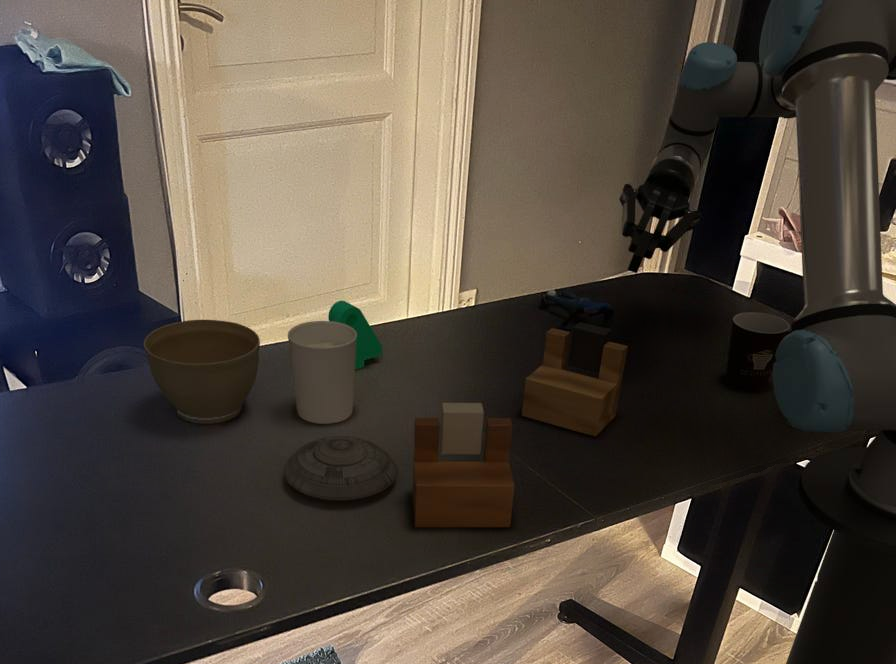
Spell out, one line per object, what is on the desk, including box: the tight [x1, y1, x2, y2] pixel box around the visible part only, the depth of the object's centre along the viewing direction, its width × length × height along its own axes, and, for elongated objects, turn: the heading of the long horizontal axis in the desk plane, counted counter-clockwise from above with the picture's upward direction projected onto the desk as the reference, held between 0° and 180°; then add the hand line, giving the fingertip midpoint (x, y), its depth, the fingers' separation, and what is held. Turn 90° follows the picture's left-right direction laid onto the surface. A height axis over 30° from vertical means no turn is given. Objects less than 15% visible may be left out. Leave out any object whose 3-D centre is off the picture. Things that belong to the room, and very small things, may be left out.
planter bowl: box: [143, 319, 261, 425], centre depth 141 cm, size 16×16×11 cm
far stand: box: [521, 327, 629, 437], centre depth 143 cm, size 8×12×11 cm, turn 60°
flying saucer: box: [283, 435, 398, 502], centre depth 128 cm, size 15×15×6 cm
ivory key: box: [439, 402, 485, 455], centre depth 122 cm, size 3×5×6 cm, turn 93°
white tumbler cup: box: [287, 320, 357, 425], centre depth 141 cm, size 10×10×12 cm
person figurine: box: [540, 289, 615, 330], centre depth 175 cm, size 11×4×18 cm
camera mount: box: [327, 300, 383, 370], centre depth 156 cm, size 12×8×10 cm, turn 128°
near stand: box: [411, 417, 516, 528], centre depth 121 cm, size 8×12×11 cm, turn 93°
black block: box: [567, 321, 612, 374], centre depth 144 cm, size 3×5×6 cm, turn 60°
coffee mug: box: [724, 311, 792, 393], centre depth 154 cm, size 12×9×10 cm
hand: (635, 263), depth 141 cm, fingers closed
